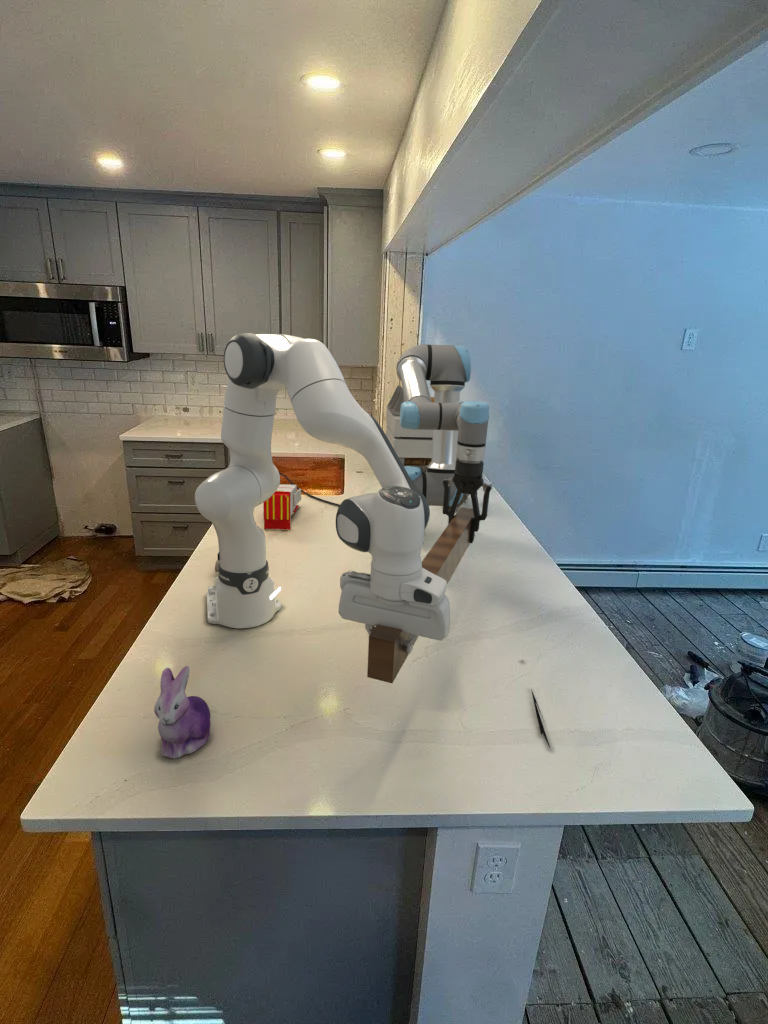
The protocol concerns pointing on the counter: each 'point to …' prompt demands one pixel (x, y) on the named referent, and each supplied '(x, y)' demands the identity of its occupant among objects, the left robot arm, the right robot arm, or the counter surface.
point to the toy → (281, 507)
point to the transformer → (407, 435)
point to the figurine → (180, 716)
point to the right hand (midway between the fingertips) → (462, 539)
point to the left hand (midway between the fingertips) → (391, 647)
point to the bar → (439, 561)
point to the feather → (539, 718)
